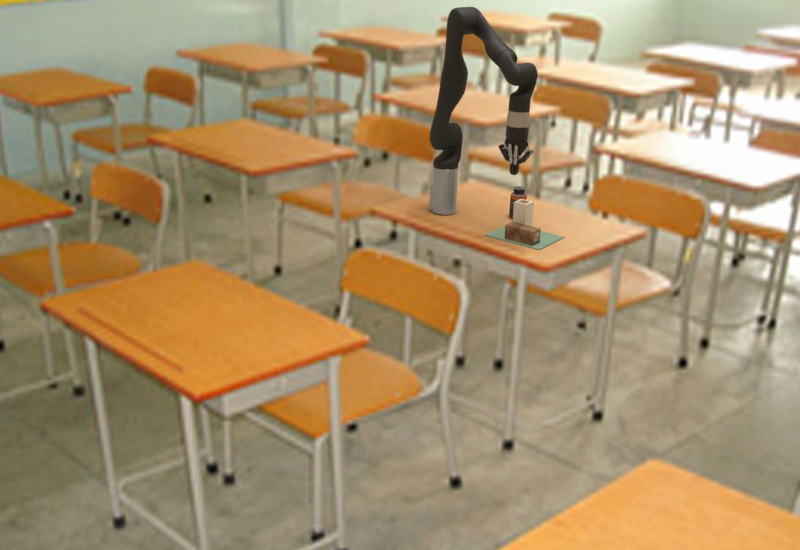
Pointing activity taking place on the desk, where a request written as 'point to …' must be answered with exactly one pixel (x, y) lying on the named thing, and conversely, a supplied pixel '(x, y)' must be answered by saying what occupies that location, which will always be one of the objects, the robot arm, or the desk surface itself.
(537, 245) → the cutting mat
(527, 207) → the cream block
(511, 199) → the supplement bottle
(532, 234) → the walnut block
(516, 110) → the robot arm
